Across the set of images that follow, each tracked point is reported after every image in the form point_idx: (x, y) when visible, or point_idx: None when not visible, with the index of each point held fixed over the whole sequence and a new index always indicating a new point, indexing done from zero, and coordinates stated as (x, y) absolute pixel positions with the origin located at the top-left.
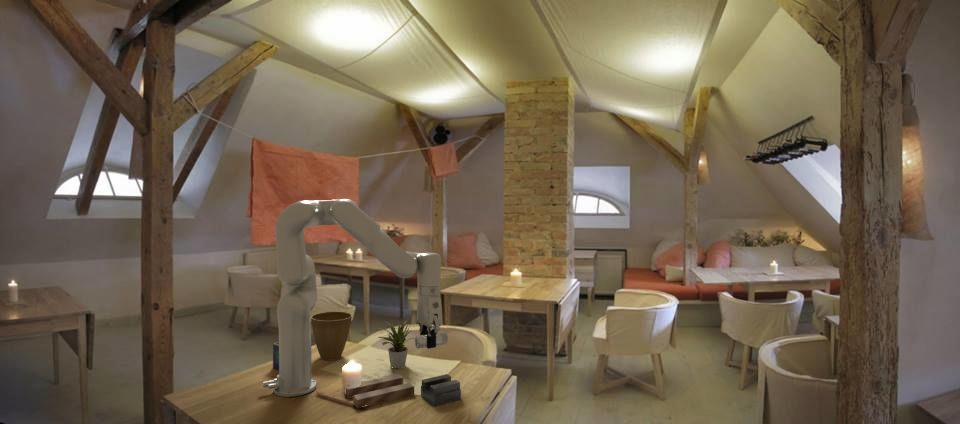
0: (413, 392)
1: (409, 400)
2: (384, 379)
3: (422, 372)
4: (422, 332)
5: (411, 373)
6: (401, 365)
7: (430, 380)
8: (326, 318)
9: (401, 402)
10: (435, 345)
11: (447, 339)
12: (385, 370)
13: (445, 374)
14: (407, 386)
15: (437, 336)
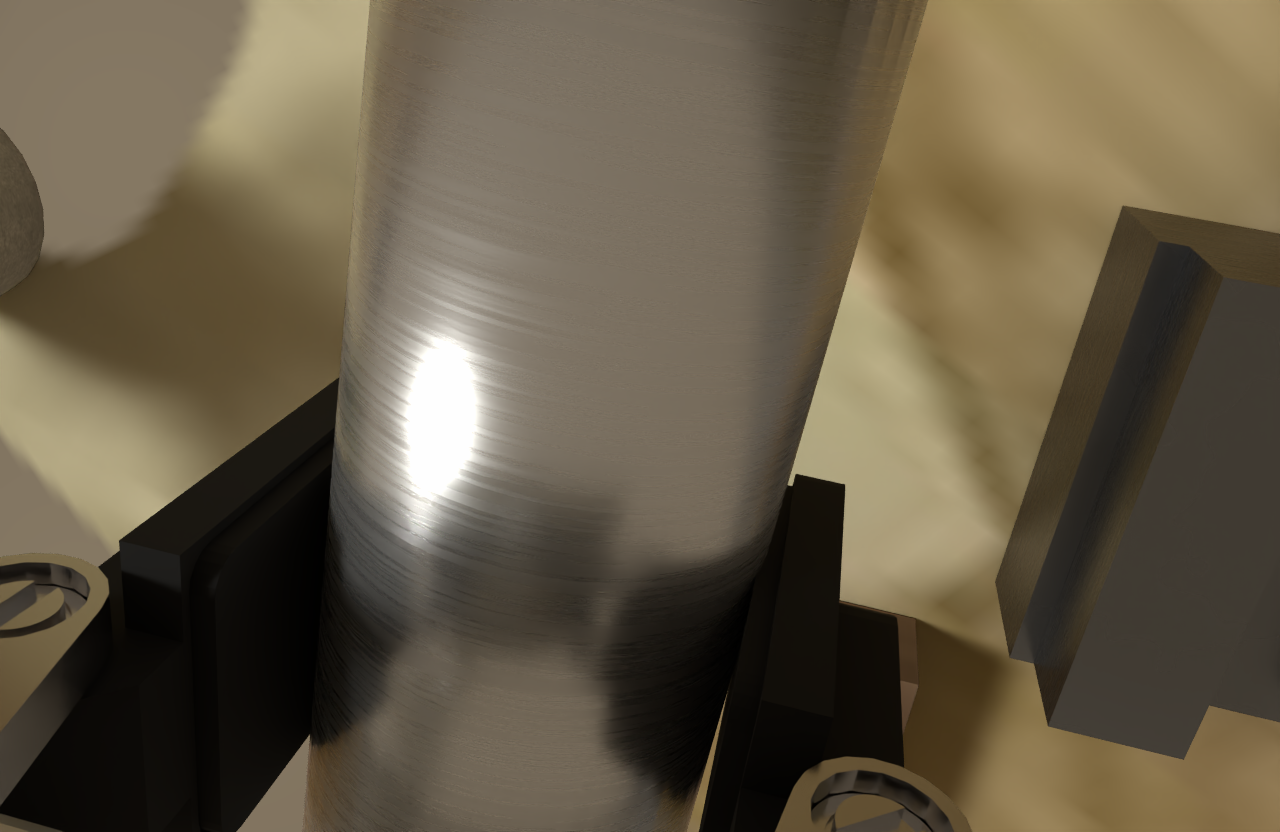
0: (912, 645)
1: (1000, 740)
2: None
3: (332, 67)
4: (194, 812)
5: (283, 218)
6: (16, 217)
7: (1191, 664)
8: None
9: (972, 816)
10: (837, 515)
11: (919, 8)
12: (32, 402)
13: (1212, 317)
14: None
15: (713, 485)
